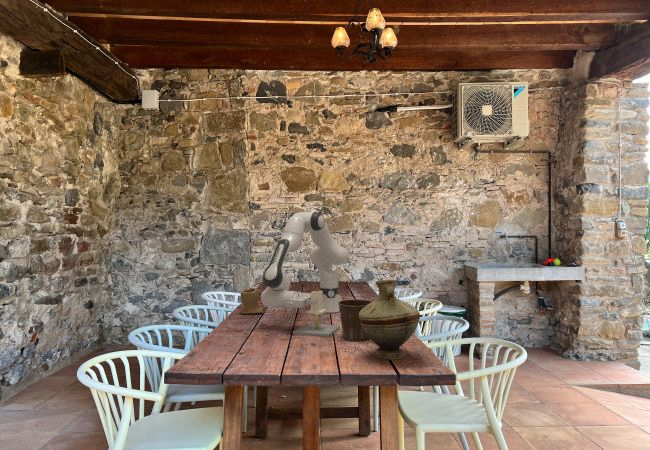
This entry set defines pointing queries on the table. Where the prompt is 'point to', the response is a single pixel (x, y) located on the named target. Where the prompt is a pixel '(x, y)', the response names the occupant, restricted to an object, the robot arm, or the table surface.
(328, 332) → the post plate
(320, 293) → the collar
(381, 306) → the brown ceramic vase
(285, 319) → the table surface
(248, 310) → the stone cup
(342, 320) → the plant pot
